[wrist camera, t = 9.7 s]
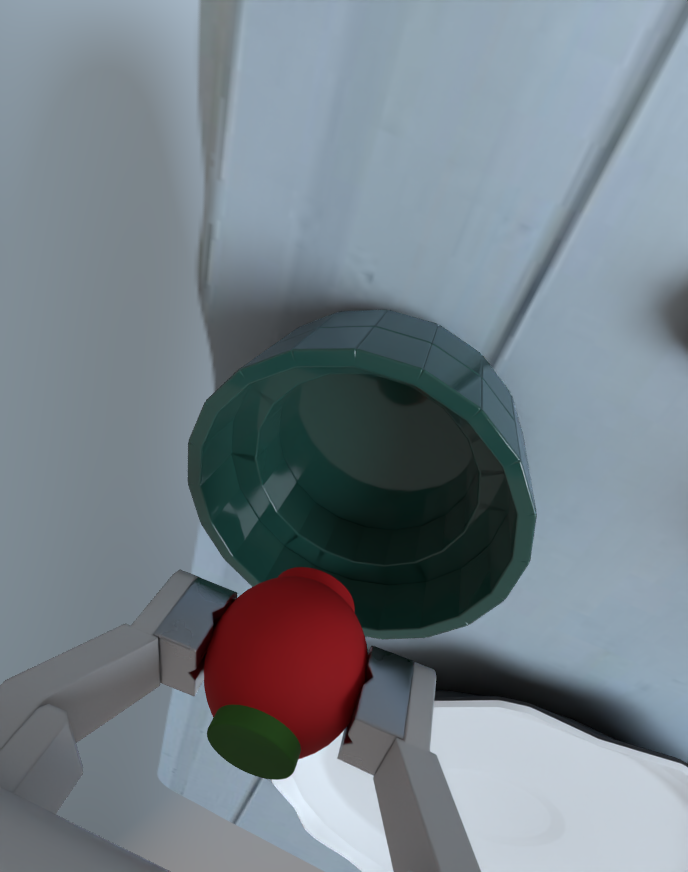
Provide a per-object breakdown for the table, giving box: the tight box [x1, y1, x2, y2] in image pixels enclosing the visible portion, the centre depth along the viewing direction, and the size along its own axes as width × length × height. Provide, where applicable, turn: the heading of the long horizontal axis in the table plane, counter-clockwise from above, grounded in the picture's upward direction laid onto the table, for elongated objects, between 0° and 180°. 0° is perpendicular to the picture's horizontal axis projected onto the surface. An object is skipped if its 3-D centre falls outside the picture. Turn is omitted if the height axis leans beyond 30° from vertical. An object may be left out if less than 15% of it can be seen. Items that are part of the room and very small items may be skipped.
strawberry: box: [204, 567, 368, 780], centre depth 10 cm, size 4×4×4 cm
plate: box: [271, 691, 688, 872], centre depth 27 cm, size 29×29×2 cm
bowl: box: [188, 310, 537, 639], centre depth 15 cm, size 11×11×5 cm
